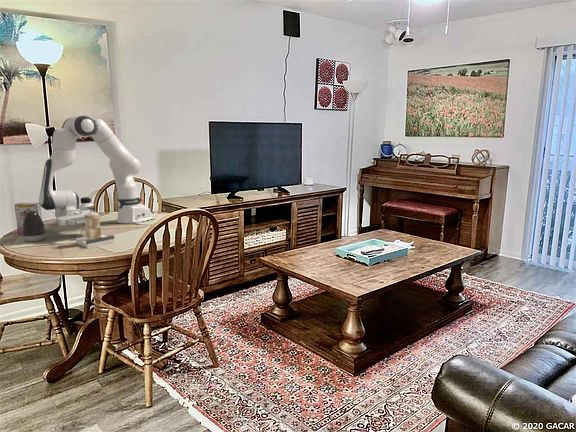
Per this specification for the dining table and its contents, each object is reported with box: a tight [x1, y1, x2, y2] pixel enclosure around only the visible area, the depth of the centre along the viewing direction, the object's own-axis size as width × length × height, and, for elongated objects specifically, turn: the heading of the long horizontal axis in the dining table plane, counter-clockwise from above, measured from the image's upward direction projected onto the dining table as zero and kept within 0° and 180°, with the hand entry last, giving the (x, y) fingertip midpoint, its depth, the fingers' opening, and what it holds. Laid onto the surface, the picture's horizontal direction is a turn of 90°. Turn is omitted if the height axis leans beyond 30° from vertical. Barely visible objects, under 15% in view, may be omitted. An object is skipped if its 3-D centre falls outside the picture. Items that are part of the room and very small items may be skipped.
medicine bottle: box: [78, 196, 96, 212], centre depth 274 cm, size 7×7×12 cm
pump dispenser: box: [21, 211, 46, 243], centre depth 215 cm, size 10×10×15 cm
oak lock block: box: [84, 213, 102, 240], centre depth 210 cm, size 5×5×12 cm
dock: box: [75, 234, 116, 249], centre depth 211 cm, size 13×13×4 cm
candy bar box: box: [14, 202, 43, 235], centre depth 230 cm, size 11×5×16 cm, turn 99°
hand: (84, 221), depth 216 cm, fingers open, 8 cm apart
